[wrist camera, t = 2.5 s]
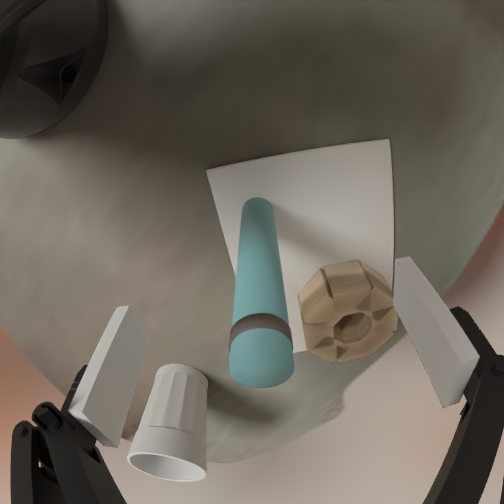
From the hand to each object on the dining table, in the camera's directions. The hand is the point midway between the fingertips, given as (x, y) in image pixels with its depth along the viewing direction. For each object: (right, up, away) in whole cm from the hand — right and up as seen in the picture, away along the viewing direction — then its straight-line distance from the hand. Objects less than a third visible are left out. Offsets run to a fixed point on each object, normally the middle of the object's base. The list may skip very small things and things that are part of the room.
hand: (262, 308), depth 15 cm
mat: (+5, +1, +12) cm, 13 cm away
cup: (-9, -13, +20) cm, 26 cm away
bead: (+8, -2, +14) cm, 16 cm away
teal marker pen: (0, +6, +9) cm, 11 cm away
